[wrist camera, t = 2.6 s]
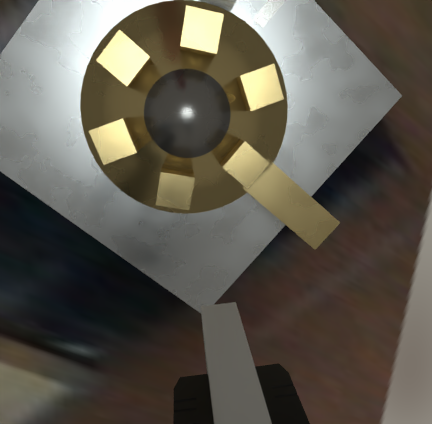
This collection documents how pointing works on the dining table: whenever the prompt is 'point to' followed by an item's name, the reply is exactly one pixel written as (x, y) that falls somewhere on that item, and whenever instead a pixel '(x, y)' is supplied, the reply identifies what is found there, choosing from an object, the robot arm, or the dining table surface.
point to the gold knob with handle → (193, 115)
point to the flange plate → (147, 216)
